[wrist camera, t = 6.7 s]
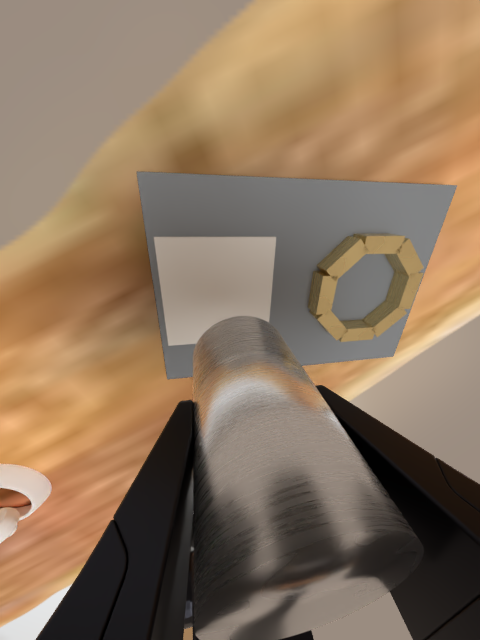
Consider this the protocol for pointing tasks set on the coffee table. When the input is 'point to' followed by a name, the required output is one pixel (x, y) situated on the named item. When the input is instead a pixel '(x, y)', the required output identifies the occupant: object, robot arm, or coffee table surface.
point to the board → (297, 246)
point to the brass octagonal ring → (398, 294)
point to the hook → (28, 483)
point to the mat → (212, 282)
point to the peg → (281, 497)
